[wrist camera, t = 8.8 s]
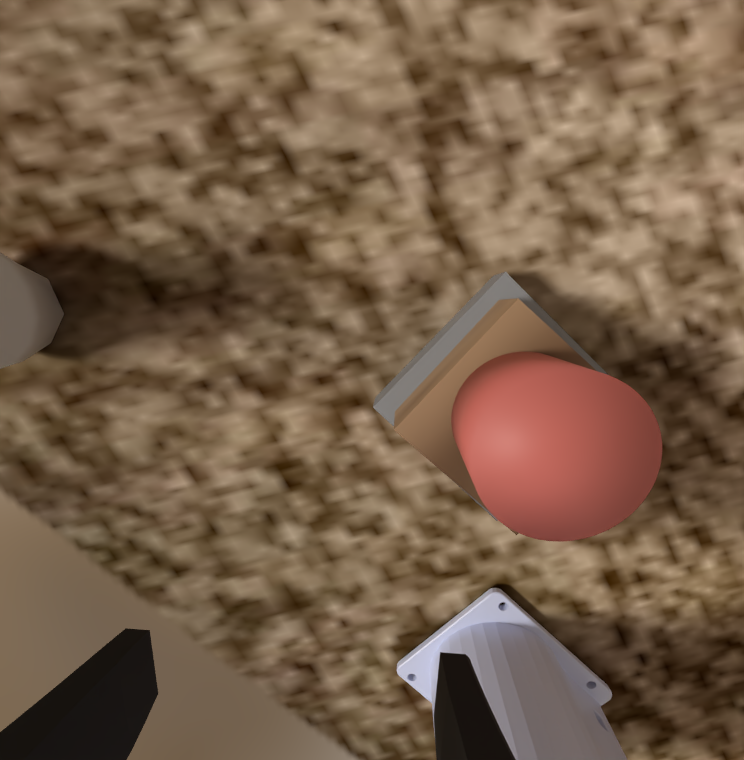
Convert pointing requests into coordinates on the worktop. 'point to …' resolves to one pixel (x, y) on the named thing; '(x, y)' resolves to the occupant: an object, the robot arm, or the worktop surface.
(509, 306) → the tower top block
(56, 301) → the salt shaker
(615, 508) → the red rounded block
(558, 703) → the robot arm
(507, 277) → the tower base block
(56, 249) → the worktop surface
